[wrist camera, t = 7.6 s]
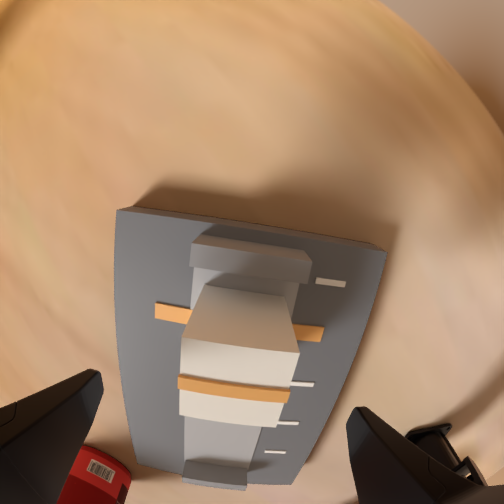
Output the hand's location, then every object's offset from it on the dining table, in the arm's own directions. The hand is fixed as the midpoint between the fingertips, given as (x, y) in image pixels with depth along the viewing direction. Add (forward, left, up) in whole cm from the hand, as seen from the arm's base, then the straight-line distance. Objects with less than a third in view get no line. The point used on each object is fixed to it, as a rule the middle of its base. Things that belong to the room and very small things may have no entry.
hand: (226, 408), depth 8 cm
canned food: (+13, +24, -9) cm, 29 cm away
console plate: (0, +6, -8) cm, 10 cm away
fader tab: (0, 0, -6) cm, 6 cm away
